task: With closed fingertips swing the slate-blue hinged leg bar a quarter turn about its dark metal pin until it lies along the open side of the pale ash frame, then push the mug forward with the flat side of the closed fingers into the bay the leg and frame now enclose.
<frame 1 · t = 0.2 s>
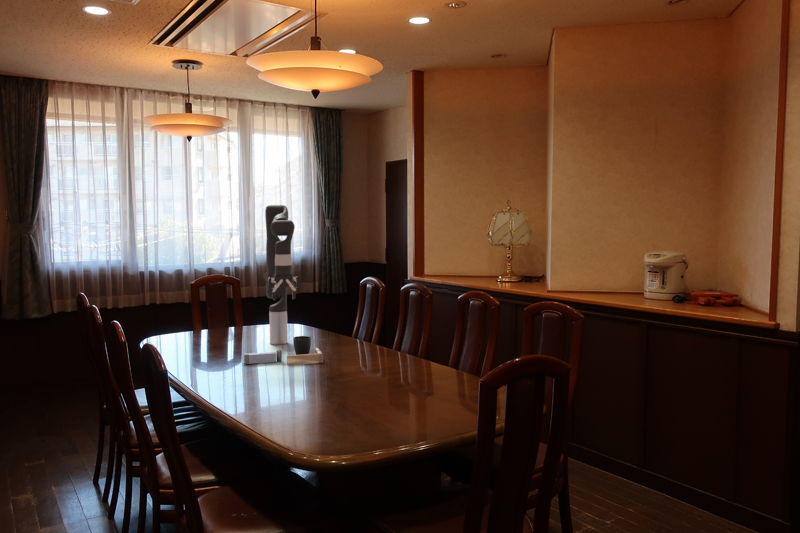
hand: (284, 299, 272), 29 cm above the table, fingers open, 8 cm apart
hinge post: (279, 361, 274), on the table
leg: (260, 357, 272), point 2 cm above the table, hinge at 0.0°
mug: (301, 356, 285), on the table
seat frame: (303, 360, 277), on the table
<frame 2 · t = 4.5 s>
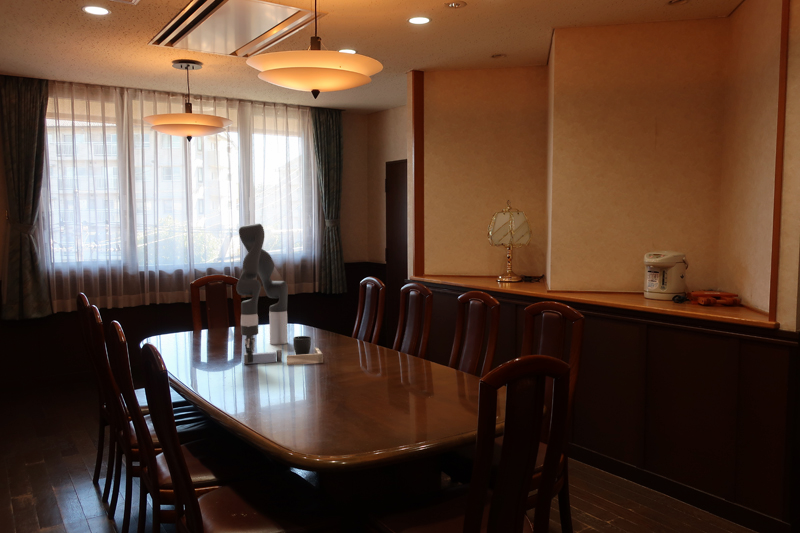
hand: (250, 362, 267), 1 cm above the table, fingers closed
leg: (260, 357, 272), point 2 cm above the table, hinge at 1.0°, touching gripper
everything else where it was.
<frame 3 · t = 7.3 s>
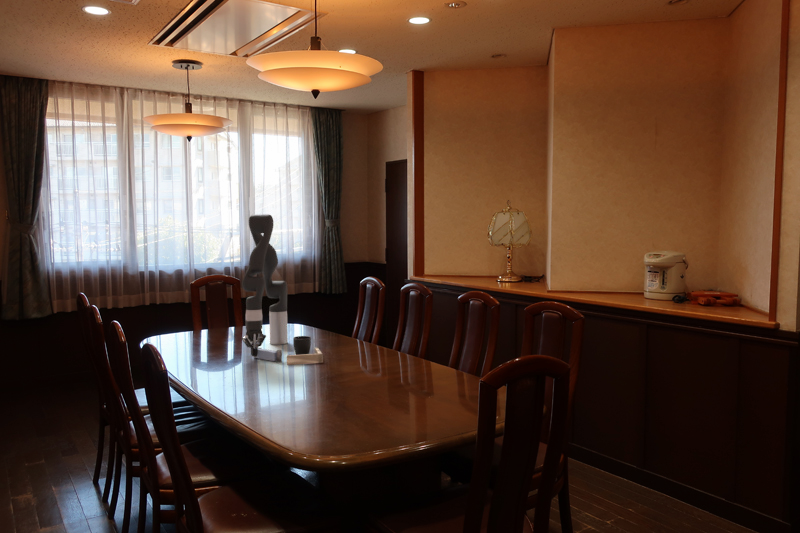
hand: (254, 356, 278), 2 cm above the table, fingers closed
leg: (266, 354, 279), point 2 cm above the table, hinge at 50.6°, touching gripper
everything else where it was.
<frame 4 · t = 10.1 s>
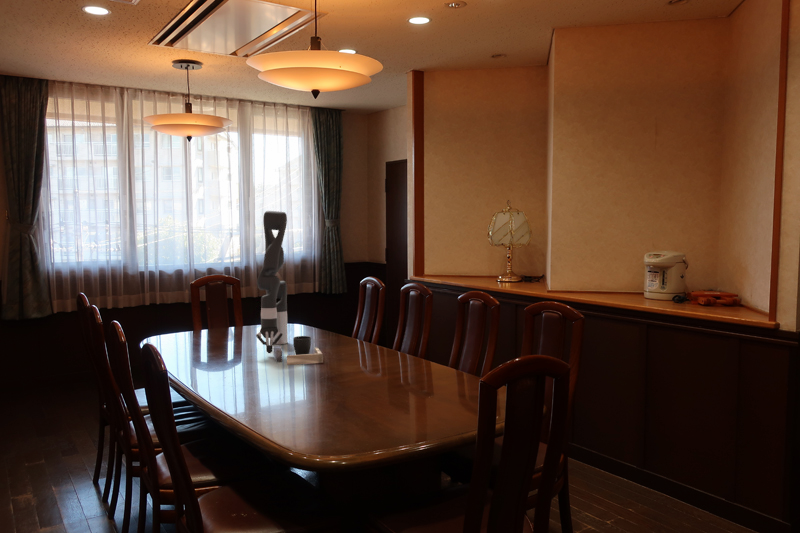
hand: (269, 353, 285), 2 cm above the table, fingers closed
leg: (277, 352, 282), point 2 cm above the table, hinge at 90.2°, touching gripper
everything else where it was.
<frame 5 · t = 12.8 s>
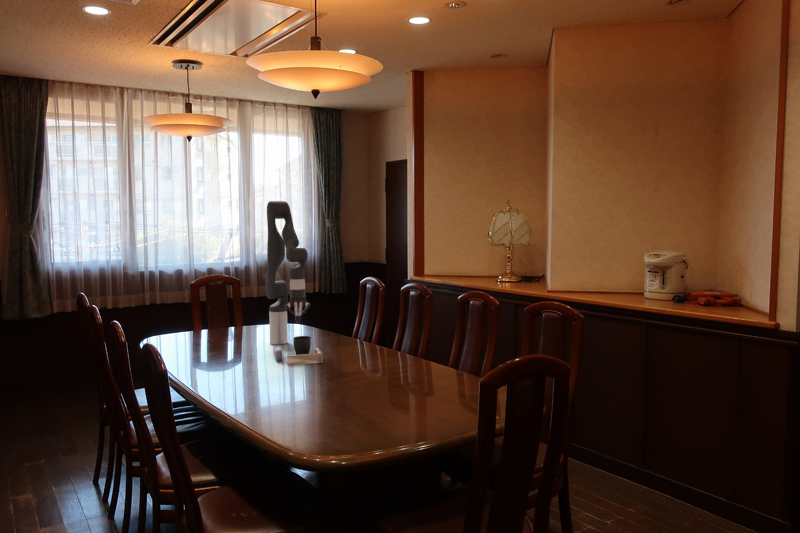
hand: (298, 322, 296), 14 cm above the table, fingers closed
leg: (277, 352, 282), point 2 cm above the table, hinge at 90.3°
everything else where it was.
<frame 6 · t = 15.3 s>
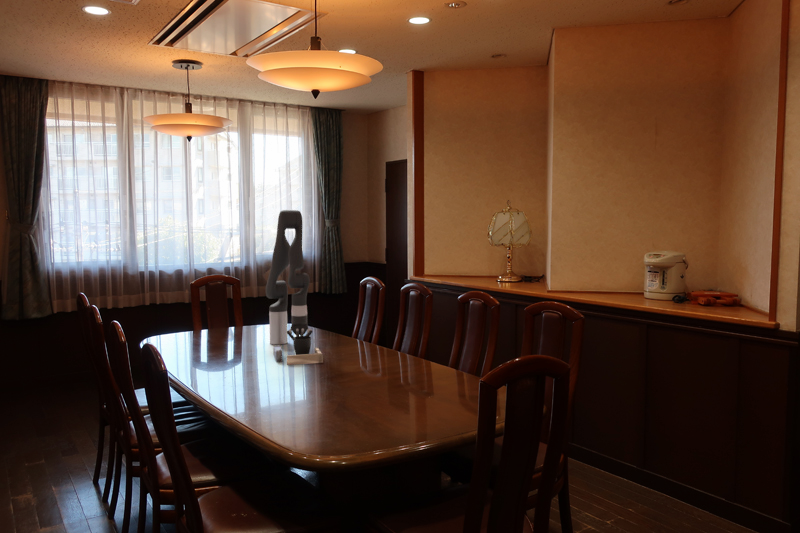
hand: (299, 349, 291), 2 cm above the table, fingers closed
mug: (301, 356, 285), on the table, touching gripper
everything else where it was.
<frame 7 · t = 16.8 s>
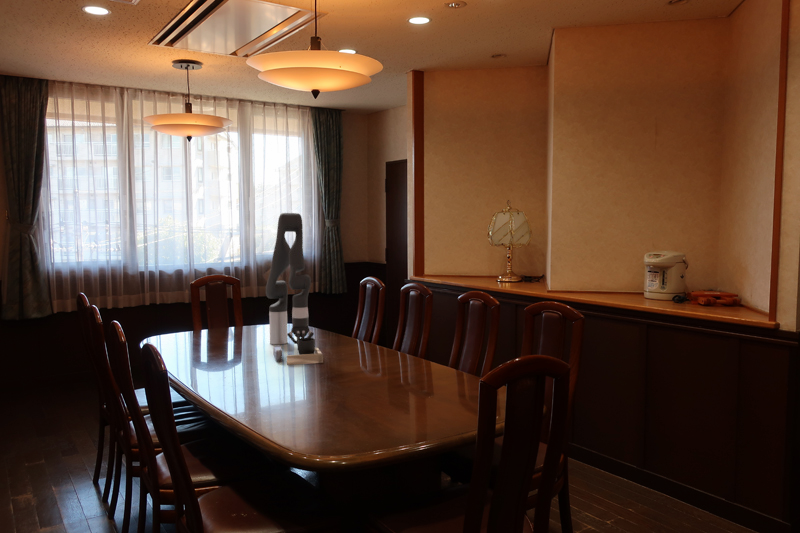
hand: (300, 351, 286), 2 cm above the table, fingers closed
mug: (304, 359, 280), on the table, touching gripper
everything else where it was.
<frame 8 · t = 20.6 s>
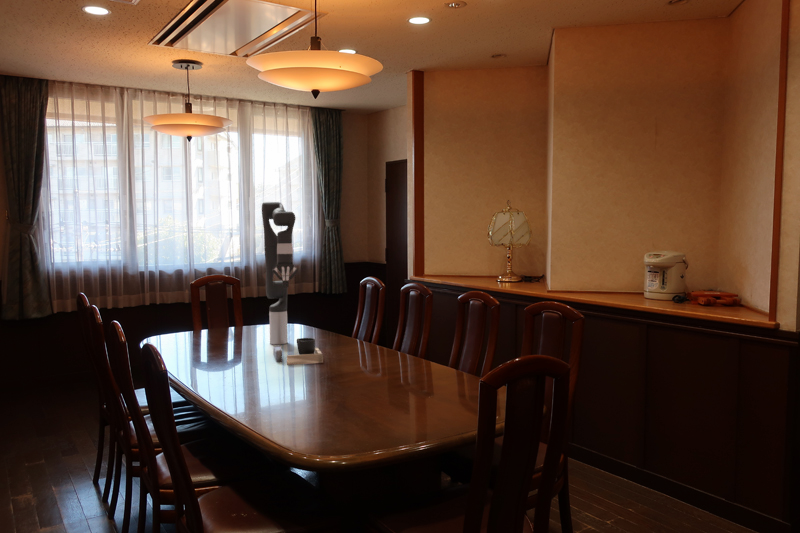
hand: (285, 288, 291), 32 cm above the table, fingers closed
mug: (304, 359, 280), on the table
everything else where it was.
at the end: leg at +90° (first picture: +0°); mug inside the target area (2.7 cm from its centre), on the table; mug tilted 0° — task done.
